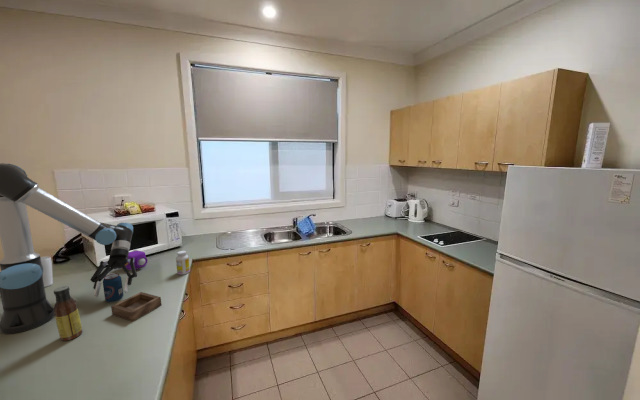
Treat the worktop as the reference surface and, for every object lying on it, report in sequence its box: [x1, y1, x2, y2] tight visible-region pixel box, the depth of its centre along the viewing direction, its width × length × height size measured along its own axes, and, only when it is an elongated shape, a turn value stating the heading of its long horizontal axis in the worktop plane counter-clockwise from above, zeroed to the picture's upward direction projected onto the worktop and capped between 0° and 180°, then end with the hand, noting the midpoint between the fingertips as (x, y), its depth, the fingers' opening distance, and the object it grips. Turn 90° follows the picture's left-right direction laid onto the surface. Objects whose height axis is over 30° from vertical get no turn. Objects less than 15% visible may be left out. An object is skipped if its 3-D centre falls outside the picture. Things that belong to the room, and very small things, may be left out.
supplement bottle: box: [175, 250, 191, 276], centre depth 152 cm, size 7×7×13 cm
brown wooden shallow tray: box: [110, 291, 162, 322], centre depth 115 cm, size 13×13×4 cm
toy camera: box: [125, 249, 148, 271], centre depth 159 cm, size 11×14×10 cm
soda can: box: [102, 272, 124, 304], centre depth 123 cm, size 7×7×12 cm
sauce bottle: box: [53, 285, 83, 342], centre depth 96 cm, size 6×6×20 cm
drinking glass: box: [40, 256, 54, 288], centre depth 136 cm, size 7×7×15 cm
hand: (111, 293), depth 120 cm, fingers open, 11 cm apart
